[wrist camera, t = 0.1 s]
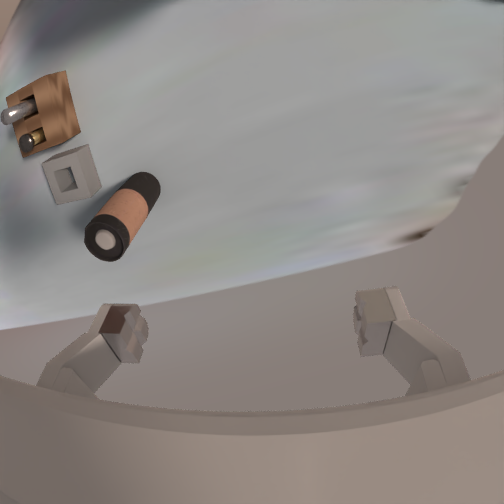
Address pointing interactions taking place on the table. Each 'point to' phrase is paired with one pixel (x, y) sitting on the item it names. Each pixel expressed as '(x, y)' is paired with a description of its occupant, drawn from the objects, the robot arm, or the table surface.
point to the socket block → (47, 111)
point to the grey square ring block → (81, 170)
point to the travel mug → (121, 217)
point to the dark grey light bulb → (31, 140)
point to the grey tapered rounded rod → (18, 111)
